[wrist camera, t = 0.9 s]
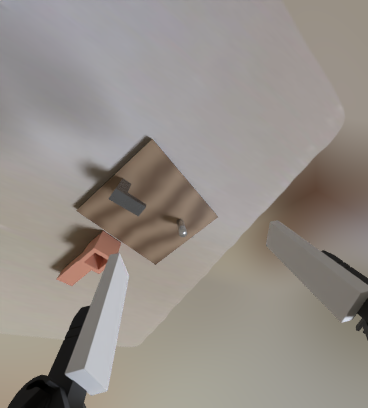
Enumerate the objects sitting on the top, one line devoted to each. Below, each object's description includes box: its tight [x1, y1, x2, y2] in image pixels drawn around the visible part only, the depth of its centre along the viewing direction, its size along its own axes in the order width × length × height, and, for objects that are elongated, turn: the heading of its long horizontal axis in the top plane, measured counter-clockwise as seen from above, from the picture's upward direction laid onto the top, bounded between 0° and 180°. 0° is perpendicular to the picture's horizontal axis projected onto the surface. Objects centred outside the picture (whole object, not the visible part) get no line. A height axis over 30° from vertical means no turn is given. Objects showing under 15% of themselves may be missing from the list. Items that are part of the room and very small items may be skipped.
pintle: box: [176, 219, 187, 237], centre depth 36 cm, size 2×2×6 cm
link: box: [57, 231, 121, 286], centre depth 36 cm, size 16×5×6 cm, turn 128°
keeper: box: [108, 179, 146, 217], centre depth 30 cm, size 6×2×7 cm, turn 48°
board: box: [76, 139, 218, 265], centre depth 36 cm, size 24×22×1 cm
